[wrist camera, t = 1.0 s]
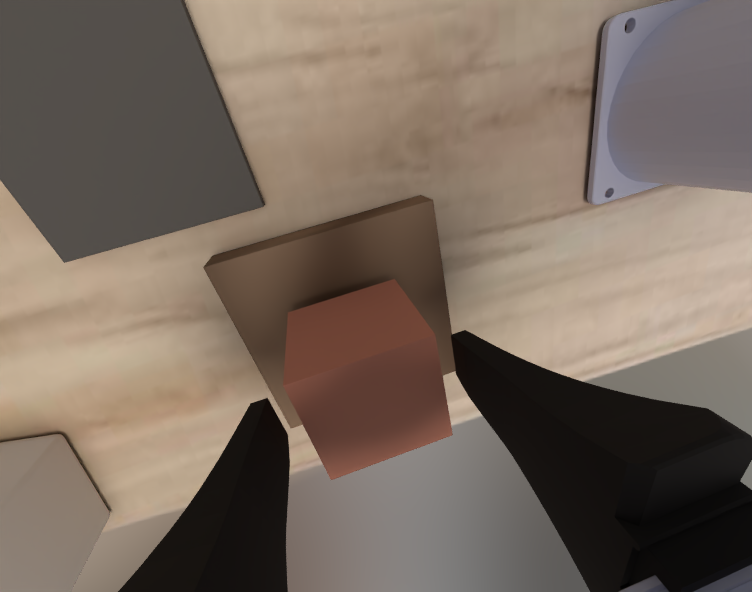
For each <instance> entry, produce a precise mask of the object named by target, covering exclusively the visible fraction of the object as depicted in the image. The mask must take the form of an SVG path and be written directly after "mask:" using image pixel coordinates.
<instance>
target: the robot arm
mask: <svg viewBox="0 0 752 592" xmlns="http://www.w3.org/2000/svg"><path fill="white" fill-rule="evenodd" d="M626 23H627V29H626V32H625V24H626ZM664 184H670V185H680V186H690V187H701V188H711V189H721V190H731V191H741V192H751V193H752V0H672V1H668V2H664V3H660V4H656V5H652V6H648V7H644V8H640V9H636V10H632V11H628V12H624V13H620V14H618V15H616V16H613V17H611V18H610V19H609V20H608V21H607V22H606V24H605V26H604V28H603V32H602V41H601V52H600V63H599V74H598V85H597V96H596V107H595V118H594V129H593V140H592V151H591V162H590V172H589V183H588V194H587V200H588V202H589V203H590V204H593V205H600V204H603V203H606V202H610V201H613V200H616V199H619V198H622V197H626V196H629V195H632V194H635V193H639V192H642V191H645V190H648V189H651V188H655V187H658V186H661V185H664ZM606 191H607V193H606ZM605 193H606V194H605ZM451 341H452V348H453V355H454V362H455V369H456V375H457V377H458V378H459V380H460V382H461V384H462V386H463V387H464V389H465V391H466V392H467V394H468V396H469V397H470V399H471V400H472V402H473V403H474V404H475V406H476V407H477V408H478V410H479V411H480V412H481V414H482V415H483V416H484V418H485V419H486V420H487V422H488V423H489V424H490V426H491V427H492V428H493V430H494V431H495V432H496V434H497V435H498V436H499V438H500V439H501V440H502V442H503V443H504V444H505V446H506V447H507V449H508V450H509V452H510V453H511V454H512V456H513V457H514V459H515V461H516V462H517V464H518V465H519V467H520V469H521V470H522V472H523V474H524V475H525V477H526V479H527V480H528V482H529V483H530V485H531V487H532V489H533V490H534V492H535V494H536V495H537V497H538V499H539V500H540V502H541V504H542V505H543V507H544V509H545V511H546V512H547V514H548V516H549V518H550V519H551V521H552V523H553V525H554V526H555V528H556V530H557V532H558V533H559V535H560V537H561V539H562V541H563V542H564V544H565V546H566V548H567V549H568V551H569V553H570V555H571V557H572V559H573V561H574V562H575V564H576V566H577V568H578V570H579V572H580V573H581V575H582V577H583V579H584V581H585V583H586V584H587V586H588V588H589V590H590V592H752V490H751V489H750V488H748V487H747V486H746V485H744V484H743V483H741V482H740V480H741V478H742V476H743V475H744V473H745V471H746V469H747V467H748V466H749V464H750V462H751V460H752V437H751V436H750V435H749V434H747V433H746V432H744V431H742V430H741V429H739V428H738V427H736V426H735V425H733V424H731V423H730V422H728V421H727V420H725V419H723V418H722V417H720V416H719V415H717V414H715V413H714V412H712V411H711V410H709V409H707V408H701V407H695V406H689V405H683V404H677V403H671V402H665V401H659V400H654V399H649V398H645V397H640V396H635V395H631V394H626V393H622V392H618V391H614V390H610V389H606V388H602V387H599V386H596V385H592V384H589V383H585V382H582V381H579V380H575V379H572V378H570V377H567V376H564V375H561V374H558V373H555V372H552V371H550V370H547V369H545V368H542V367H540V366H537V365H535V364H533V363H530V362H528V361H526V360H523V359H521V358H519V357H517V356H515V355H512V354H510V353H508V352H506V351H504V350H502V349H500V348H498V347H496V346H494V345H492V344H490V343H489V342H487V341H485V340H483V339H481V338H479V337H477V336H475V335H474V334H472V333H470V332H468V331H466V330H464V331H461V332H458V333H455V334H453V335H451ZM289 467H290V459H289V444H288V434H287V432H286V430H285V429H284V427H283V425H282V423H281V422H280V420H279V418H278V416H277V414H276V413H275V411H274V409H273V407H272V405H271V404H270V402H269V400H268V398H266V399H263V400H260V401H257V402H254V403H251V404H250V406H249V408H248V409H247V411H246V413H245V415H244V416H243V418H242V420H241V422H240V423H239V425H238V427H237V429H236V431H235V432H234V434H233V436H232V438H231V439H230V441H229V443H228V445H227V446H226V448H225V450H224V451H223V453H222V455H221V456H220V458H219V460H218V461H217V463H216V465H215V466H214V468H213V469H212V471H211V472H210V474H209V476H208V477H207V479H206V480H205V482H204V483H203V485H202V486H201V488H200V489H199V491H198V492H197V494H196V495H195V497H194V498H193V500H192V501H191V502H190V504H189V505H188V507H187V508H186V509H185V511H184V512H183V513H182V515H181V516H180V517H179V519H178V520H177V522H176V523H175V524H174V526H173V527H172V528H171V529H170V531H169V532H168V533H167V535H166V536H165V537H164V538H163V539H162V541H161V542H160V543H159V544H158V545H157V547H156V548H155V549H154V550H153V552H152V553H151V554H150V555H149V556H148V558H147V559H146V560H145V561H144V563H143V564H142V565H141V566H140V567H139V569H138V570H137V571H136V572H135V573H134V574H133V576H132V577H131V578H130V579H129V580H128V581H127V582H126V584H125V585H124V586H123V587H122V588H121V589H120V590H119V591H118V592H288V590H287V568H286V567H287V566H286V522H287V505H288V487H289Z"/></svg>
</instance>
